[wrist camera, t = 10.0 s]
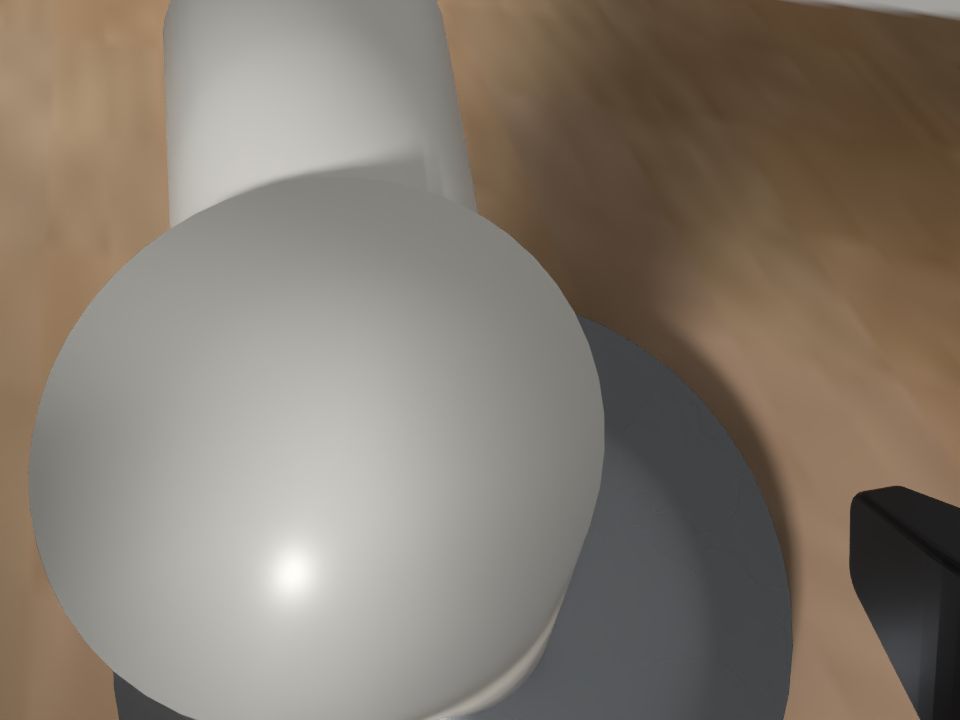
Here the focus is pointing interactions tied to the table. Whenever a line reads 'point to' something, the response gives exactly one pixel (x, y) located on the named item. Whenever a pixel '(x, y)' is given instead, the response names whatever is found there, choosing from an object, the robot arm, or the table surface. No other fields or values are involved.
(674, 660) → the flange plate
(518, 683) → the duct elbow
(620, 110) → the table surface
